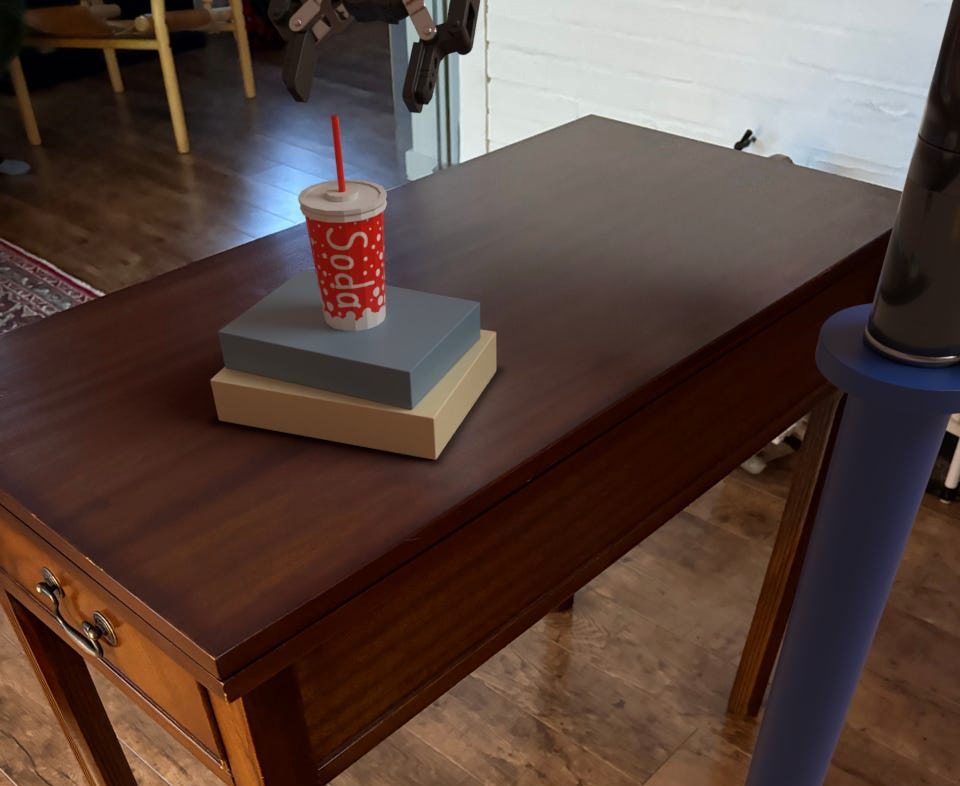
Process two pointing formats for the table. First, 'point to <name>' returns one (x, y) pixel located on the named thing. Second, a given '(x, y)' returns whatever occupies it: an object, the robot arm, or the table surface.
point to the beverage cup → (347, 246)
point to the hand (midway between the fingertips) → (353, 101)
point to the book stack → (355, 369)
